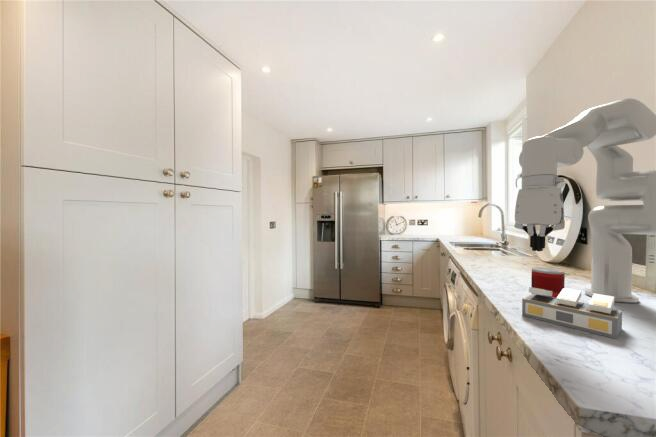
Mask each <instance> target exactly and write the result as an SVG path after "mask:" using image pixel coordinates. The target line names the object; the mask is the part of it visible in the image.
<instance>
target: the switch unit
mask: <svg viewBox="0 0 656 437" xmlns="http://www.w3.org/2000/svg"><path fill="white" fill-rule="evenodd" d="M521 300H522V301H521V302H522V303H521V305H522V306H521V307H522V309H521V312H522V313H521V315H522V316H523V317H528V318H532V319H537V320H540V321H544V322H546V323H547V322H548V323H552V324H556V325H560V326H563V327H568V328H572V329H576V330H578V331H583V332H588V333H590V334H596V335H600V336H604V337H608V338H612V339H615V340H617V339H618V338H619V336H620V333H621V332H622V330H623V324H622V323H623V310H621V309H617V308H612V311H611V313H610V314H609V313H604V312H599V311H594V310H589V303H586V302H581V301H578V303H577V305H576V307H574V306H569V305H564V304H560V303H557V298H555V297H550V296H545V295H540V294H534V293H532V294H531V293H530V294H529V295H527V296H524V297H523V298H522V299H521Z"/></svg>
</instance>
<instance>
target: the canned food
mask: <svg viewBox="0 0 656 437" xmlns="http://www.w3.org/2000/svg"><path fill="white" fill-rule="evenodd" d="M565 275H566V274H565V271H564V270H563V269H562V270H561V269H557V268H552V267H551V268H549V267H541V266H540V267H538V266H537V267H532V268H531V282H530V283H531V288H532V287H533V288H539V289H545V290H548V291H552V296H550V297H555V298H557V297H558V295H559V294H560V292H561V291H562V289H563V288H565V283H566V282H565ZM531 294H532V293H530V295H531ZM534 294H535V293H534ZM545 296H546V295H545Z"/></svg>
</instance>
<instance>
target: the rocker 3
mask: <svg viewBox="0 0 656 437" xmlns="http://www.w3.org/2000/svg"><path fill="white" fill-rule="evenodd" d="M615 302H616V301H614V296H608V295H602V294H596V293H594V294H593V296H591V298H590V300H589V302H588V304H589V310H594V311H599V312H604V313H609V314H610V313H611V311H612V308H613V307H614V304H615ZM613 309H614V308H613Z"/></svg>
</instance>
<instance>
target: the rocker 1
mask: <svg viewBox="0 0 656 437" xmlns="http://www.w3.org/2000/svg"><path fill="white" fill-rule="evenodd" d="M528 293H530V294H531V293H535V294H540V295H546V296H552V291H548V290H545V289H539V288H533V287H532V288H531V287H530V286H529V287H528Z"/></svg>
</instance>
